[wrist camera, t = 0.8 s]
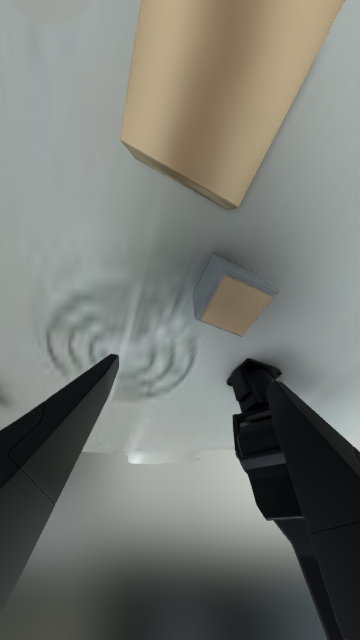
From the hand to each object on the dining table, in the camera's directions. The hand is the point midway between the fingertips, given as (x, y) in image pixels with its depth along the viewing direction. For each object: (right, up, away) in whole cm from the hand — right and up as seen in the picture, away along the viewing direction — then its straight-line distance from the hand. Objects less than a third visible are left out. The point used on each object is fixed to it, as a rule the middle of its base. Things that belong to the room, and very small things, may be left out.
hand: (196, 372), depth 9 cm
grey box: (+4, +7, +10) cm, 13 cm away
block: (+1, +19, +3) cm, 19 cm away
